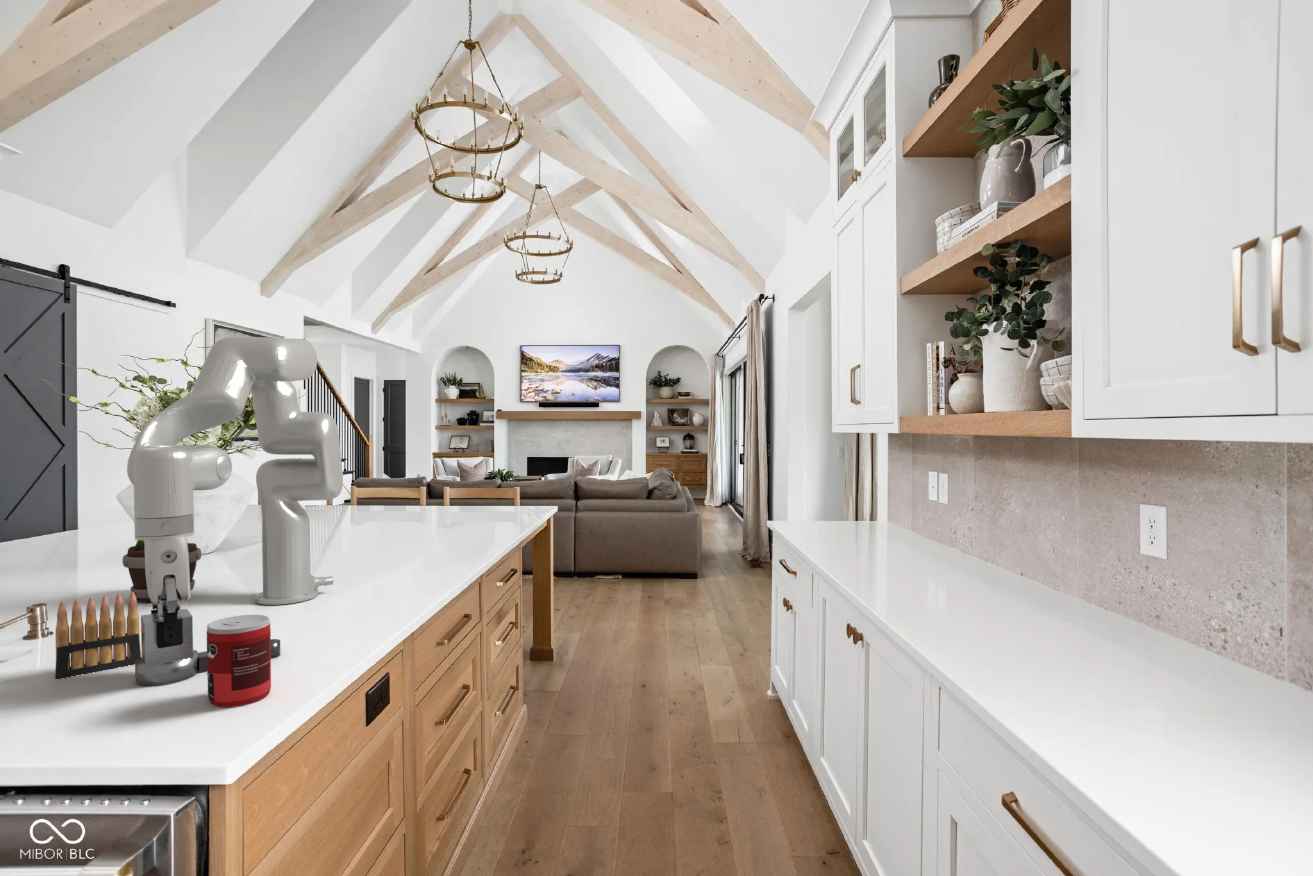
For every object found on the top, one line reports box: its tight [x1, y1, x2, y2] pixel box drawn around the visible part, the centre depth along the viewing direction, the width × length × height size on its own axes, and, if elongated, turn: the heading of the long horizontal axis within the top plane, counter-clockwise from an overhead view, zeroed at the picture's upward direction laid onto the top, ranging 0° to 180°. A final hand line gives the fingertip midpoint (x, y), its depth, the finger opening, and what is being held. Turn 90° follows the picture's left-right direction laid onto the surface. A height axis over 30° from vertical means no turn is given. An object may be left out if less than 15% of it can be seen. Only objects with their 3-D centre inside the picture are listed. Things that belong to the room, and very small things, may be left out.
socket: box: [140, 608, 194, 667], centre depth 107 cm, size 6×6×7 cm
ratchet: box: [134, 638, 281, 687], centre depth 111 cm, size 20×8×6 cm, turn 131°
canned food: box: [206, 614, 272, 708], centre depth 99 cm, size 8×8×11 cm
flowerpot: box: [122, 540, 202, 603], centre depth 156 cm, size 14×15×20 cm
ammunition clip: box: [54, 591, 142, 680], centre depth 110 cm, size 11×2×12 cm, turn 133°
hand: (166, 639), depth 107 cm, fingers open, 7 cm apart
